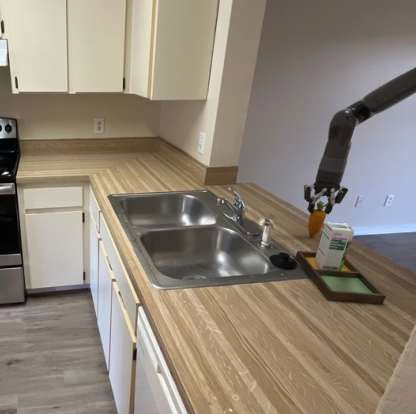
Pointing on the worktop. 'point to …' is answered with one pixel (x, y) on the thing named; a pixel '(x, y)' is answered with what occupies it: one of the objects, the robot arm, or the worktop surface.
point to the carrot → (316, 219)
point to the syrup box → (334, 246)
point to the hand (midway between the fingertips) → (318, 212)
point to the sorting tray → (341, 281)
